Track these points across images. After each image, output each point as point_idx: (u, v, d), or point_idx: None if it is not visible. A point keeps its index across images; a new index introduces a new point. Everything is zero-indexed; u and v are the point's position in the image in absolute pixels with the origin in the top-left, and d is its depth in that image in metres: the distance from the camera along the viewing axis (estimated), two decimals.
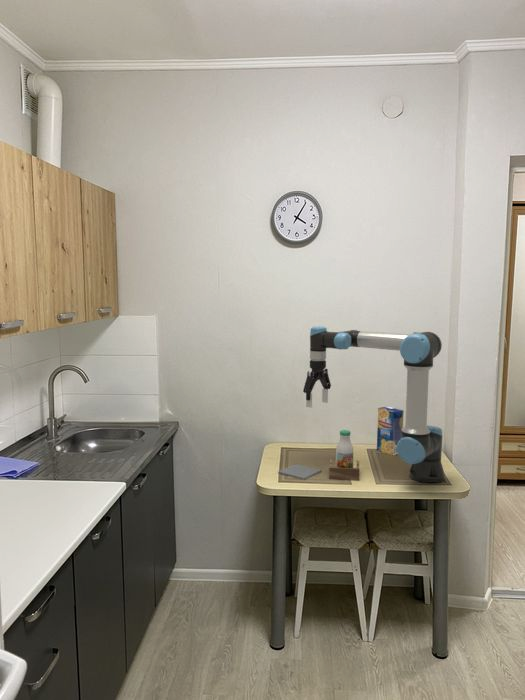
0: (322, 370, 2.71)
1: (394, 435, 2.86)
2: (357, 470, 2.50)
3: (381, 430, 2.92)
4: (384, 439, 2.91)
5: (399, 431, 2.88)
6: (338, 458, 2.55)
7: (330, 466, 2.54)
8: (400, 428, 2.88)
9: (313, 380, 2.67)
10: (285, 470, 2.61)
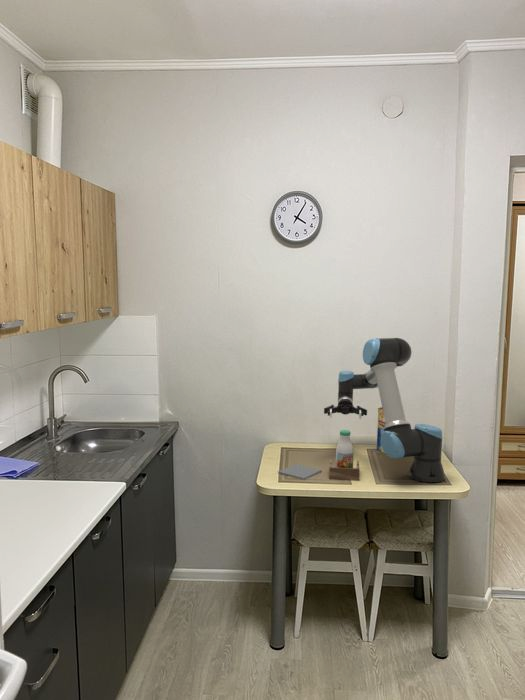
0: None
1: None
2: (357, 470, 2.50)
3: (381, 430, 2.92)
4: None
5: None
6: (338, 458, 2.55)
7: (330, 466, 2.54)
8: None
9: None
10: (285, 470, 2.61)
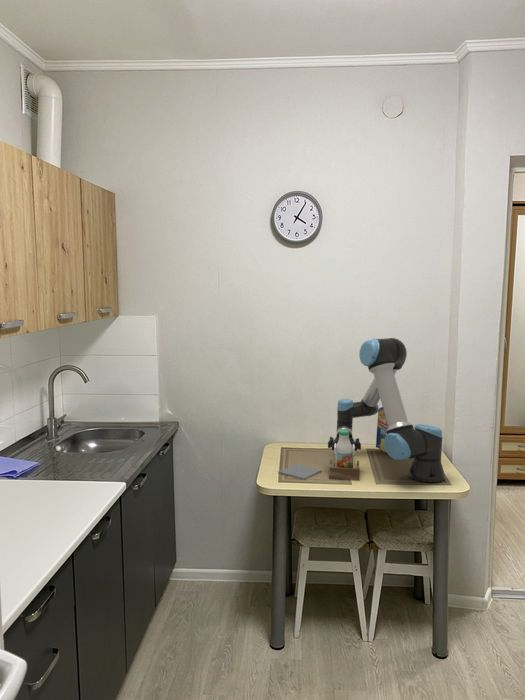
0: (350, 437, 2.69)
1: None
2: (357, 470, 2.50)
3: (381, 430, 2.88)
4: None
5: None
6: (338, 458, 2.55)
7: (330, 466, 2.54)
8: None
9: None
10: (285, 470, 2.61)
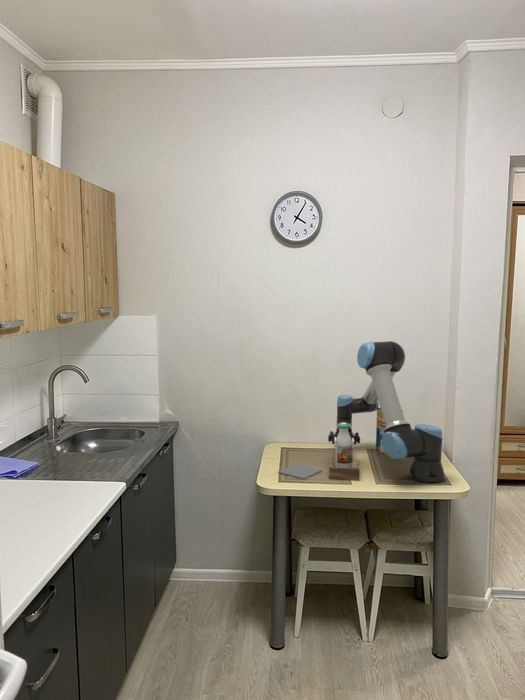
0: (349, 431, 2.78)
1: None
2: (357, 470, 2.50)
3: (380, 431, 2.92)
4: None
5: None
6: (338, 451, 2.63)
7: (330, 466, 2.54)
8: None
9: None
10: (285, 470, 2.61)
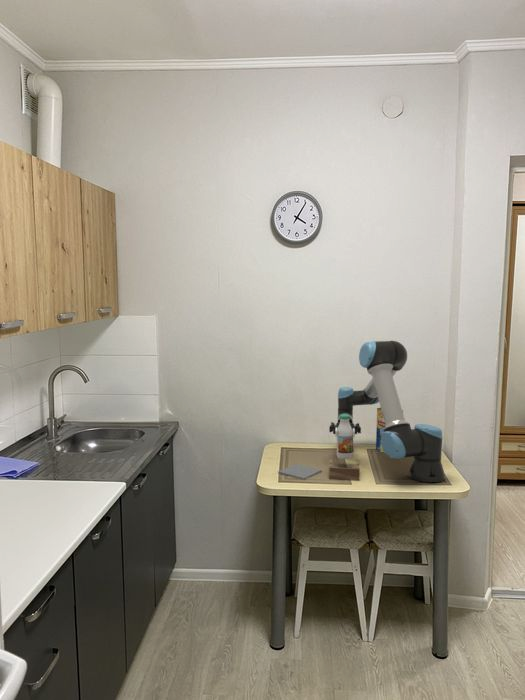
0: (350, 422, 2.81)
1: None
2: (357, 470, 2.50)
3: (380, 431, 2.92)
4: None
5: None
6: (339, 441, 2.67)
7: (330, 466, 2.54)
8: None
9: None
10: (285, 470, 2.61)
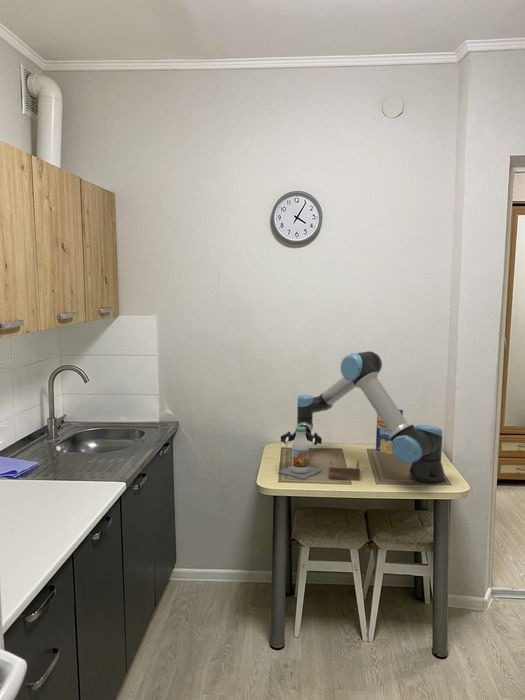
0: (307, 432, 2.71)
1: None
2: (357, 470, 2.50)
3: (380, 431, 2.92)
4: (384, 439, 2.90)
5: None
6: (294, 454, 2.57)
7: (330, 466, 2.54)
8: None
9: None
10: (285, 470, 2.61)
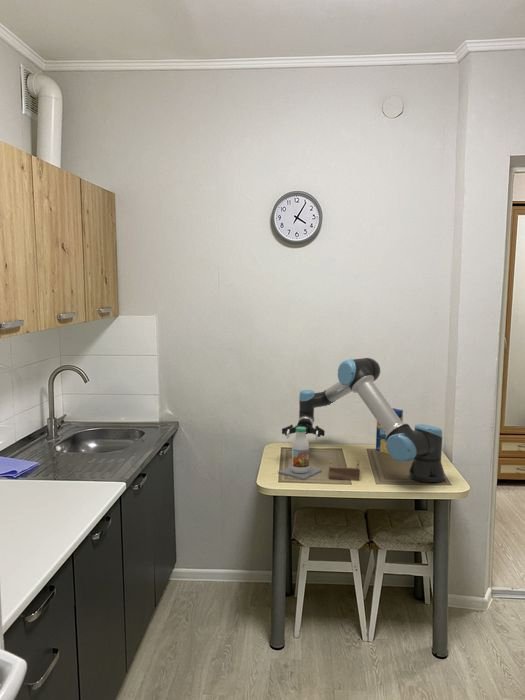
0: (309, 425, 2.84)
1: None
2: (357, 470, 2.50)
3: (380, 431, 2.92)
4: (384, 439, 2.90)
5: None
6: (294, 454, 2.57)
7: (330, 466, 2.54)
8: None
9: None
10: (285, 470, 2.61)
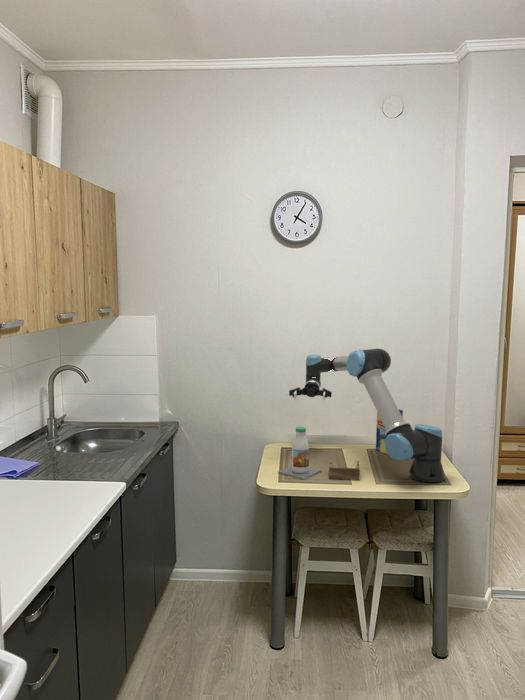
0: None
1: None
2: (357, 470, 2.50)
3: (380, 431, 2.92)
4: (384, 439, 2.90)
5: None
6: (294, 454, 2.57)
7: (330, 466, 2.54)
8: None
9: None
10: (285, 470, 2.61)
